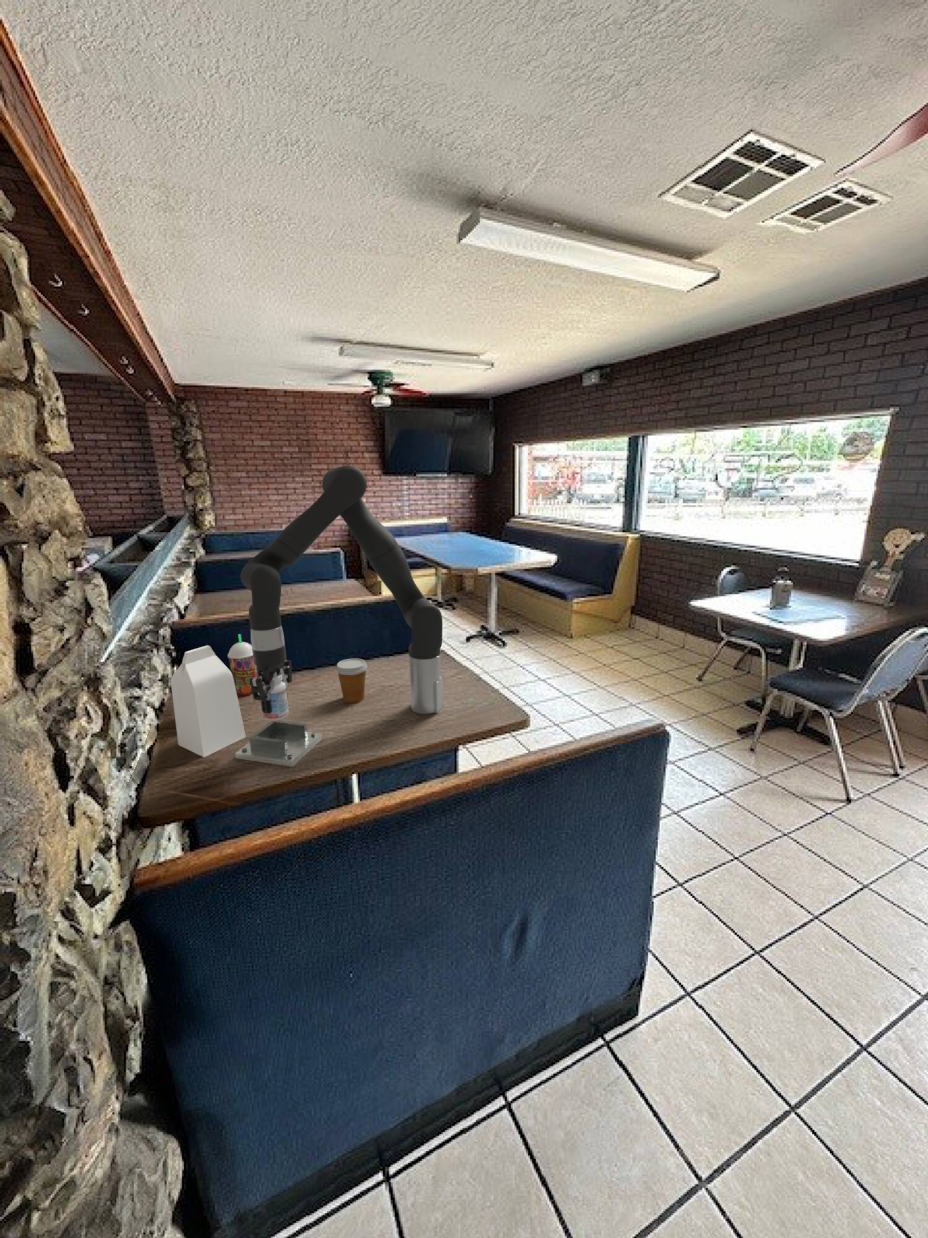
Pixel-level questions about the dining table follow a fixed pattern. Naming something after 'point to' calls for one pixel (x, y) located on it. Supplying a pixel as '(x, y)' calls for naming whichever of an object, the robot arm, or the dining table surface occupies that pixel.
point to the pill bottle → (278, 701)
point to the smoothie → (242, 666)
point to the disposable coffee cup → (352, 679)
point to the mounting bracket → (279, 743)
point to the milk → (205, 703)
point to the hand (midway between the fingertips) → (275, 706)
